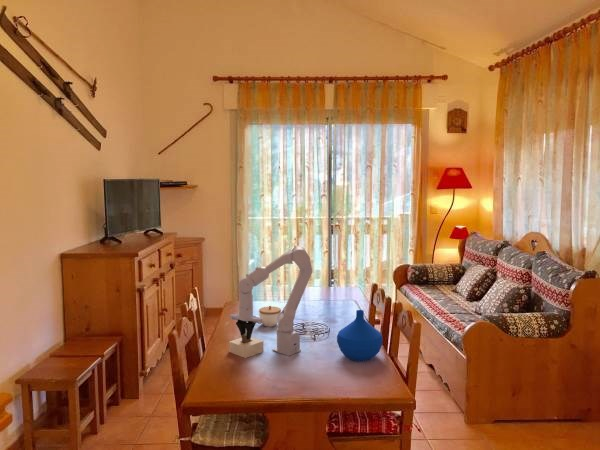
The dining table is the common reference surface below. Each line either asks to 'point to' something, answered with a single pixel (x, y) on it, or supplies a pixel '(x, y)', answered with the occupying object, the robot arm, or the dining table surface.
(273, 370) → the dining table surface
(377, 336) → the vase
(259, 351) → the cream square hole block
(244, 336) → the brown rectangular block
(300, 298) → the robot arm
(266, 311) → the lidded jar
